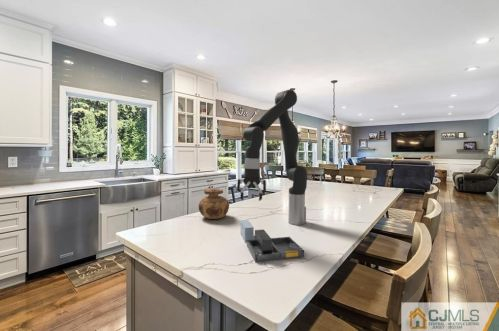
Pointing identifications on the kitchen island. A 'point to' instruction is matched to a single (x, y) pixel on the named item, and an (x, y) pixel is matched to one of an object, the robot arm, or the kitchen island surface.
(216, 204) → the clay pot
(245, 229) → the panel
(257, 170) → the robot arm
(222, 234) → the kitchen island surface
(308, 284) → the kitchen island surface
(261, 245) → the dark grey tray
